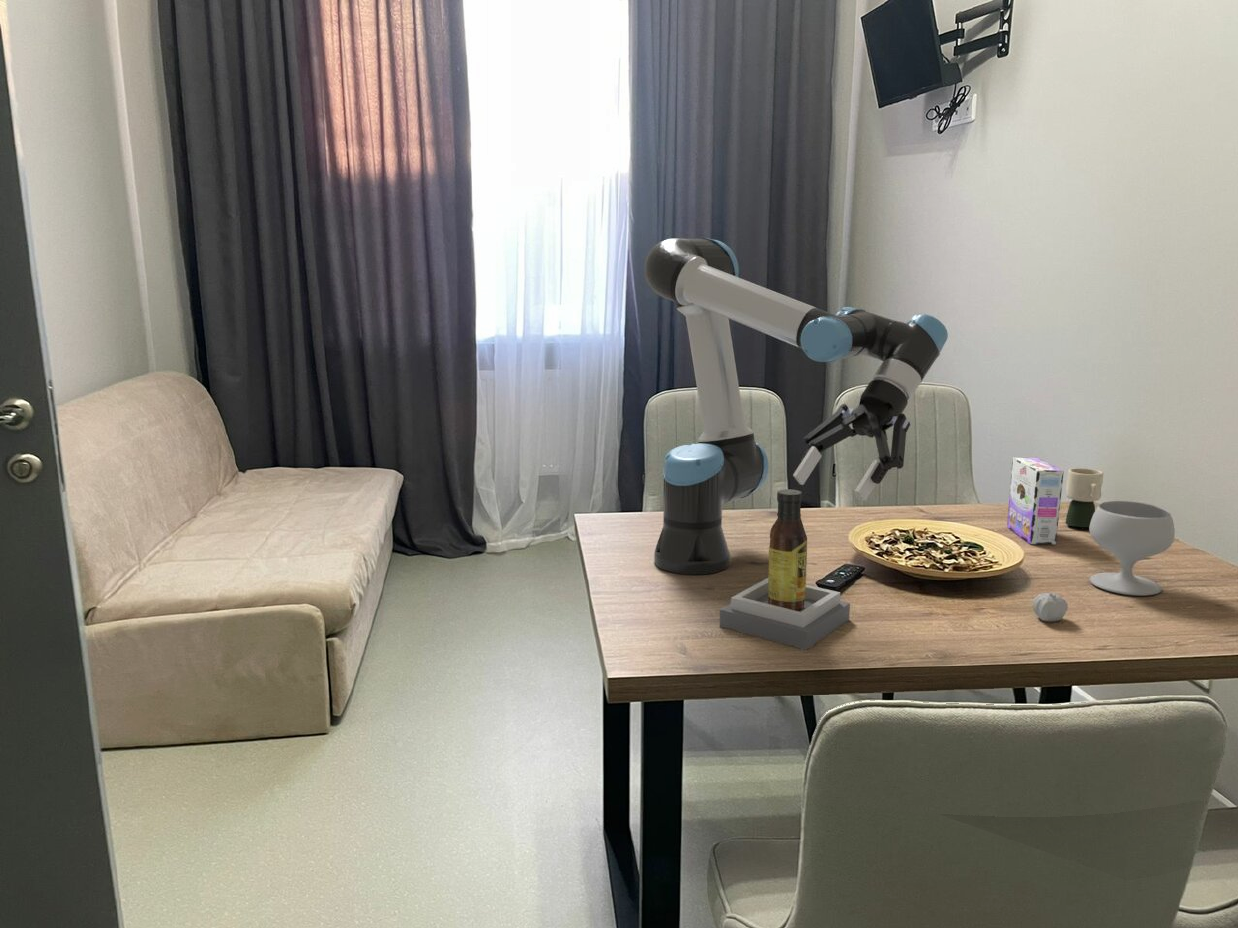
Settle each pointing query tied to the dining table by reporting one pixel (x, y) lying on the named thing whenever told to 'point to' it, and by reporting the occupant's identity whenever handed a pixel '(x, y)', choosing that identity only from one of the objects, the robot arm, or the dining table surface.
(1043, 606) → the garlic
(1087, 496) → the character mug
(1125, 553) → the chalice
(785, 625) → the pedestal
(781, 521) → the sauce bottle
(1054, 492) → the candy box
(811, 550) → the dining table surface
